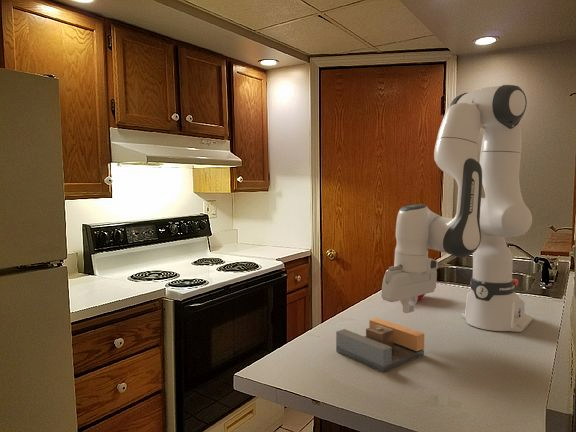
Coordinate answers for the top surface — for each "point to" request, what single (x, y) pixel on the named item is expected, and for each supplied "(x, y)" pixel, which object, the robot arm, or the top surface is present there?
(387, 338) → the block
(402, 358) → the frame
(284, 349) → the top surface
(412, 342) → the block
